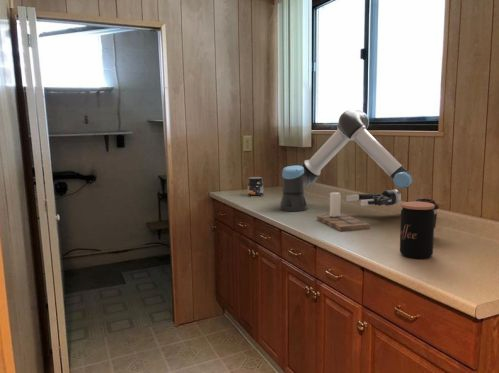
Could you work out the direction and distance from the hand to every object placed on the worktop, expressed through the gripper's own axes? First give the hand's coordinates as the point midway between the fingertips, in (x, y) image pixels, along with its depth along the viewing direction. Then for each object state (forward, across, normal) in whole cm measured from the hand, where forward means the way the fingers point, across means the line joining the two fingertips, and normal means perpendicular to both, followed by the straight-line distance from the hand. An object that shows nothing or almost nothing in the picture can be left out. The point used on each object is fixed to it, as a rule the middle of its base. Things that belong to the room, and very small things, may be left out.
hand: (353, 200), depth 198 cm
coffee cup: (-10, -38, -9) cm, 40 cm away
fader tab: (+10, 0, -7) cm, 12 cm away
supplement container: (+25, +85, -9) cm, 89 cm away
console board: (+10, -7, -9) cm, 15 cm away
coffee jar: (+8, -57, -9) cm, 58 cm away
